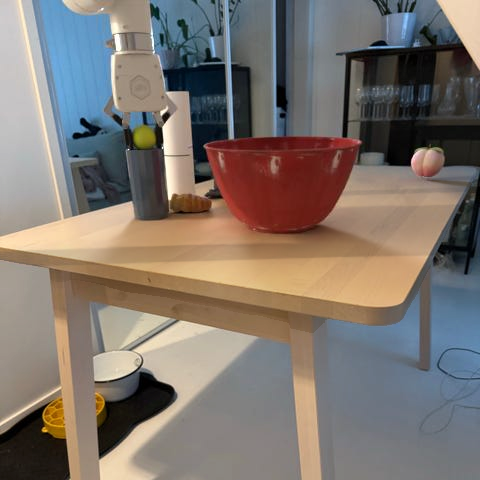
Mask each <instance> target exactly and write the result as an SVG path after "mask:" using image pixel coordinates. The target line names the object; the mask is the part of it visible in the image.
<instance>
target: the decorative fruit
mask: <svg viewBox="0 0 480 480" xmlns="http://www.w3.org/2000/svg"><path fill="white" fill-rule="evenodd" d="M444 154H445V152H444V150H443V149H442V148H441V147H432V146H431V143H429V147H419V148H416V149H415V150H414V154H413V156H412V158H411V161H410V163H411V168H412V170H413V172H414V173H415V174H416V175H417V176H419V177H420V176H424V177H430V178H432V177H434V176H436V175H438V174H439V173H440V172H441V170H442V169H443V168H444V165H445V158H446V157H445V155H444Z"/></svg>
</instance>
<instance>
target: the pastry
mask: <svg viewBox="0 0 480 480" xmlns="http://www.w3.org/2000/svg"><path fill="white" fill-rule="evenodd" d="M212 205H213V201H212V200H211V199H209V198H208V197H203V196H201V195H197V194H196V195H192V194H190V193H189V194H181V195H178V194H176V193H174V194H172V197H171V200H170V202H169V210H170V211H172V212H174V213H179V212H181V211H182V212H184V213H189V212H192V213H198V212H204V211H209V210H210V209H212Z"/></svg>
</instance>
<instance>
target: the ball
mask: <svg viewBox="0 0 480 480" xmlns="http://www.w3.org/2000/svg"><path fill="white" fill-rule="evenodd" d="M132 138H133V146H134V148H137V149H139V150H151V149H152V148H153V147H156V145H155V143H156V134H155V132H154V128H152V127H150V126H149V125H147V124H139V125H137V126H136V127H135V128H134V129H133V130H132Z"/></svg>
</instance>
